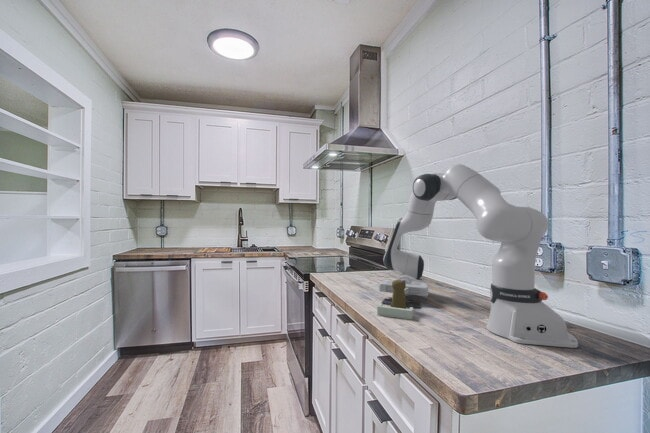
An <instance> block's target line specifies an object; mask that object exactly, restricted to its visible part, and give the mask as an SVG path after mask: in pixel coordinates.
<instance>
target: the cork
mask: <svg viewBox="0 0 650 433" xmlns="http://www.w3.org/2000/svg"><path fill="white" fill-rule="evenodd" d="M392 287H393V293H392V297H391V299H392V303H391V305H390V307H395V308H403V309H408V307H406V301H407V300H406V296H405V292H404V289H405V287H406V284H405V282H404V281H402V280H397V279H396V280H393V282H392Z"/></svg>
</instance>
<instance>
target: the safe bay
mask: <svg viewBox="0 0 650 433" xmlns="http://www.w3.org/2000/svg"><path fill="white" fill-rule="evenodd" d="M376 308H377V311H376V315H377V316H382V317H389V318H398V319H406V320H410V321H411V320H413V317H414V308H413V307H409V309H408V308H407V309H403V308H395V307H391V306H388V305H387V306H385V305H384V304H382V302H380V303H378V305H377V307H376Z"/></svg>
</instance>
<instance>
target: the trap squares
mask: <svg viewBox="0 0 650 433" xmlns="http://www.w3.org/2000/svg"><path fill="white" fill-rule="evenodd" d="M381 303H382V304H383V305H387V306H391V303H392V298H383V300H382V301H381ZM421 306H422V302H419V301H412V300H411V301H410V300H406V308H410V307H413V309H421Z"/></svg>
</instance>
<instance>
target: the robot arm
mask: <svg viewBox="0 0 650 433" xmlns="http://www.w3.org/2000/svg"><path fill="white" fill-rule="evenodd" d="M412 183H413V184H412V191H411V194H410V197H409V200H408V204H407V210H406V213H405V215H404V216H403V217H401V218H399V219H398V221H397V223H396V224H395V227H394V229H393V233H392V236H391V238H390V241H389V244H388V247H387V250H386V252H385V253H384V254H383V259H382V260H383V263H382V264H383V265H384V267H385V268H386V269H387V270H390V271H396V272H400V273H401V274H400V275H399V276H398V277H397V278H396V280H402V281H404V282H405V284H406V287H405V289H404V292H405V297H409V296H410V297H411V296H419V297H428V296H429V285H428V283H427V281H426V279H421V278H422V277H423V273H424V269H425V261H424V259H423V256H421V255H420V254H416V253H411V252H407V251H402V250H399V249H398V247H399V243H400V242H401V238H402V236H403V235H404V234H406V233H407V234H408V233H411V232H413V233H414V232H419V231H422V230H424V229H426V228H427V227H429V226H430V225H431V222H432V221H433V220H432V219H433V216H434V210H435V207H436V206H435V205H436V203H437V202H441V201H443V202H444V201H448V200H449V201H452V200H456V199H458V200H459V201H460V202H461V203H462V204H463V206H465V207H466V208H467V209H468V210H469V211H470V212H471V213H472V215H474V217H475V219H476V228H477V231H478V233H479V234H480V236H482V237H483V238H485V239H487V240H490V241H492V242H493V241H494V242H497V243H498V242H499V243H500V247H499V249H498V251H497V253H496V255H494V256H493V259H492V265H491V266H492V268H491V269H492V271H491V274H492V276H491V277H492V278H491V281H492V282H491V284H490V287H489V290H490V291H489V294H490V295H489V296H490V297H489V298H490V302H491V304H490V311H489V315H488V321H487V323H486V325H485V328H486V329H487V330H488V331H489V332H491V333H492V334H495V335H497V336H499V337H502V338H505V339H509V340H510V341H512V342H514V343H517V344H522V345H523V344H525V345H536V346H546V347H559V348H570V349H577V348H578V347H579V341H578V339H577V338H576V337H575V336H574V335H573V334H572V333H570V332H568V326H567V323H566V321H565V320H564V318H563V317H562V316H561V315H560V314H558V313H557V312H556V311H555V310H554V309H552V308H551V307H549V305H547V304H546V303H544V302H543V301H546V300H549V295H548V293H546V292H543V291H541V290H539V289H537V288H535V278H536V277H535V276H536V275H535V272H536V271H535V270H536V260H537V256H538V251H539V248H540V244H541V241H542V239H543V237H544V235H545V234H546V232H547V231H548V229H549V221H548V220H549V219H548V218H547V216H546V214H544V213H543V212H541V211H540V210H538V209H535V208H532V207H529V206H515V205H513V204H511V203H509V202H508V201H506V200H505V198H504V197H503V196H502V195H501V190H500V189H499V187H497V186H496V185H495V184H494V183H492V182H491V181H490V180H488V179H487V178H486V177H485V176H483V175H482V174H481V173H479V172H477V171H476V170H474V169H473V168H471V167H469V166H466V165H464V164H462V163H461V164H459V163H458V164H454V165H452V166H450V167H449V168H448V169H447V170H446V171H445V172H444V173H443V172H442V173H441V172H438V173H437V172H436V173H424V174H421V175H418V176H417V177H415V179H414V181H413V182H412ZM393 281H394V280H393ZM393 281H392V280H383V281H381V282H379V283H378V291H379V292H380V293H391V294H393V287H392V282H393Z"/></svg>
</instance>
